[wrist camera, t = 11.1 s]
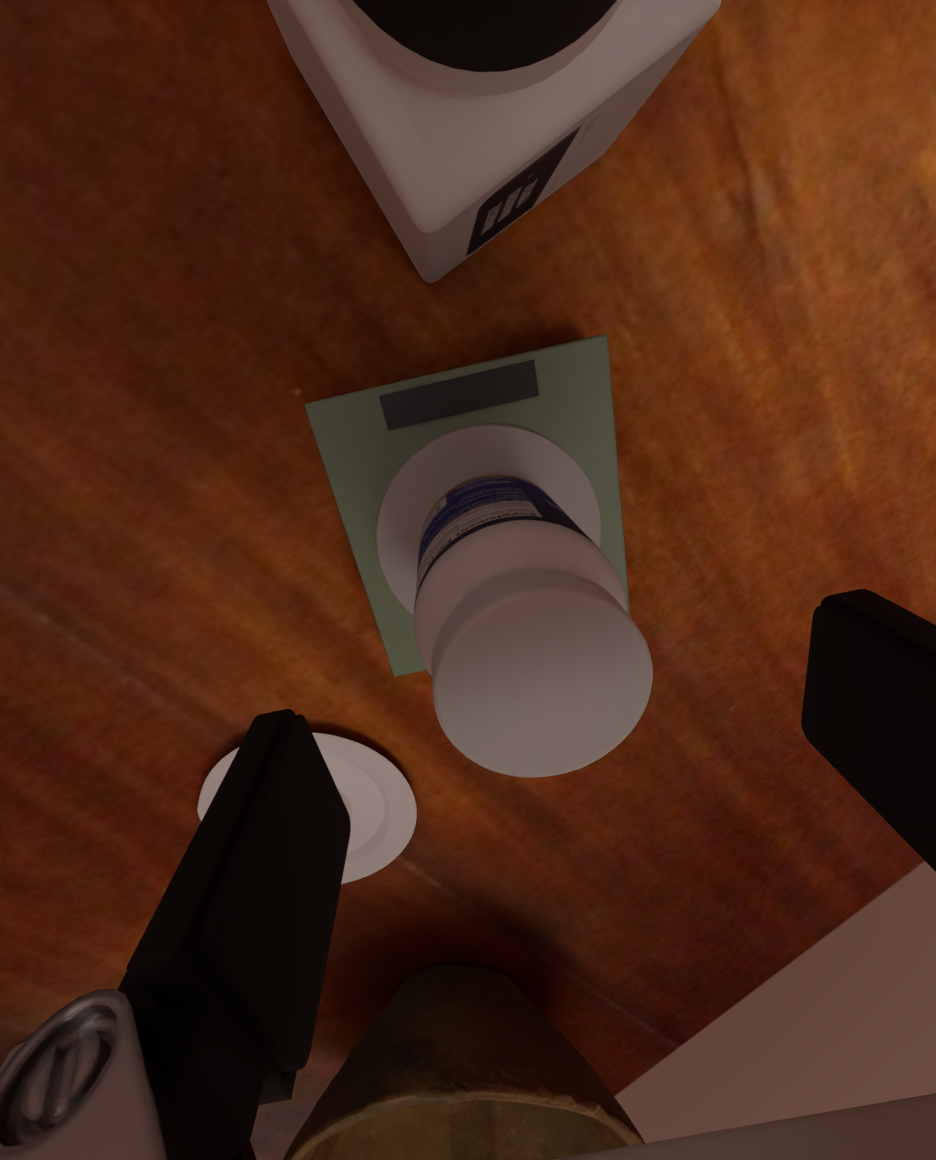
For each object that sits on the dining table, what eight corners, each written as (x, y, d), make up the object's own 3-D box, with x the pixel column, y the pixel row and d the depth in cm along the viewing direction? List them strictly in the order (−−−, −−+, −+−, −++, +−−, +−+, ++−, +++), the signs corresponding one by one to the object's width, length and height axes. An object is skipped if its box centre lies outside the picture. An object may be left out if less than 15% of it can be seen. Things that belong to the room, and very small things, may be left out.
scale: (318, 400, 19) (299, 404, 17) (587, 337, 19) (611, 332, 16) (397, 648, 24) (393, 683, 21) (612, 602, 24) (635, 631, 21)
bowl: (619, 888, 33) (691, 1088, 24) (586, 1061, 42) (629, 1254, 33) (293, 909, 31) (236, 1130, 22) (332, 1083, 41) (303, 1290, 31)
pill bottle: (579, 577, 20) (701, 750, 11) (451, 624, 20) (465, 828, 11) (538, 445, 18) (648, 524, 9) (395, 502, 18) (357, 632, 9)
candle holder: (168, 826, 28) (124, 902, 24) (270, 686, 24) (239, 746, 20) (346, 898, 31) (334, 974, 27) (457, 783, 28) (461, 851, 24)
